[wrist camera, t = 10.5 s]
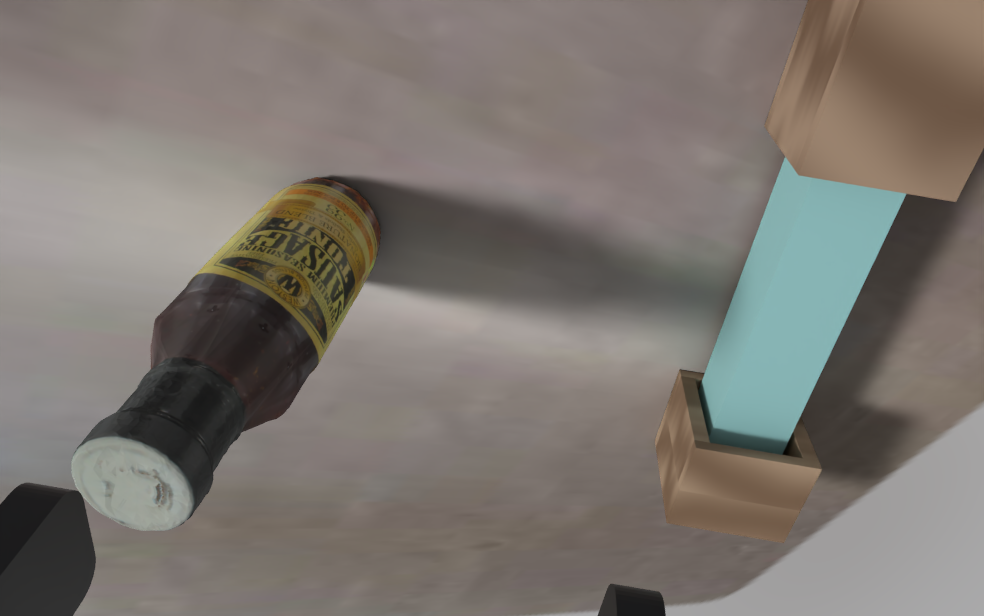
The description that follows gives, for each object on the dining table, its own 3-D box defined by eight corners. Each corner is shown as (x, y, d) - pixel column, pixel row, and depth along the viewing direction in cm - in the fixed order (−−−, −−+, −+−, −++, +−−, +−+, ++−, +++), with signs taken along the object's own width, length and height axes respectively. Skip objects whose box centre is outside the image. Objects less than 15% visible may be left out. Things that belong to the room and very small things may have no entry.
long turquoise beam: (801, 113, 34) (827, 142, 31) (888, 127, 34) (923, 158, 31) (689, 413, 44) (699, 460, 40) (757, 424, 44) (773, 473, 40)
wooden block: (838, -87, 30) (894, -73, 25) (993, -61, 30) (1082, -42, 25) (764, 126, 35) (798, 175, 30) (898, 149, 35) (955, 202, 30)
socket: (679, 369, 43) (696, 448, 37) (789, 388, 43) (822, 469, 37) (654, 440, 46) (666, 523, 40) (757, 457, 46) (783, 543, 40)
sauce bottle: (408, 225, 40) (288, 505, 23) (339, 296, 42) (186, 592, 25) (309, 141, 38) (96, 380, 21) (243, 221, 40) (8, 489, 23)
